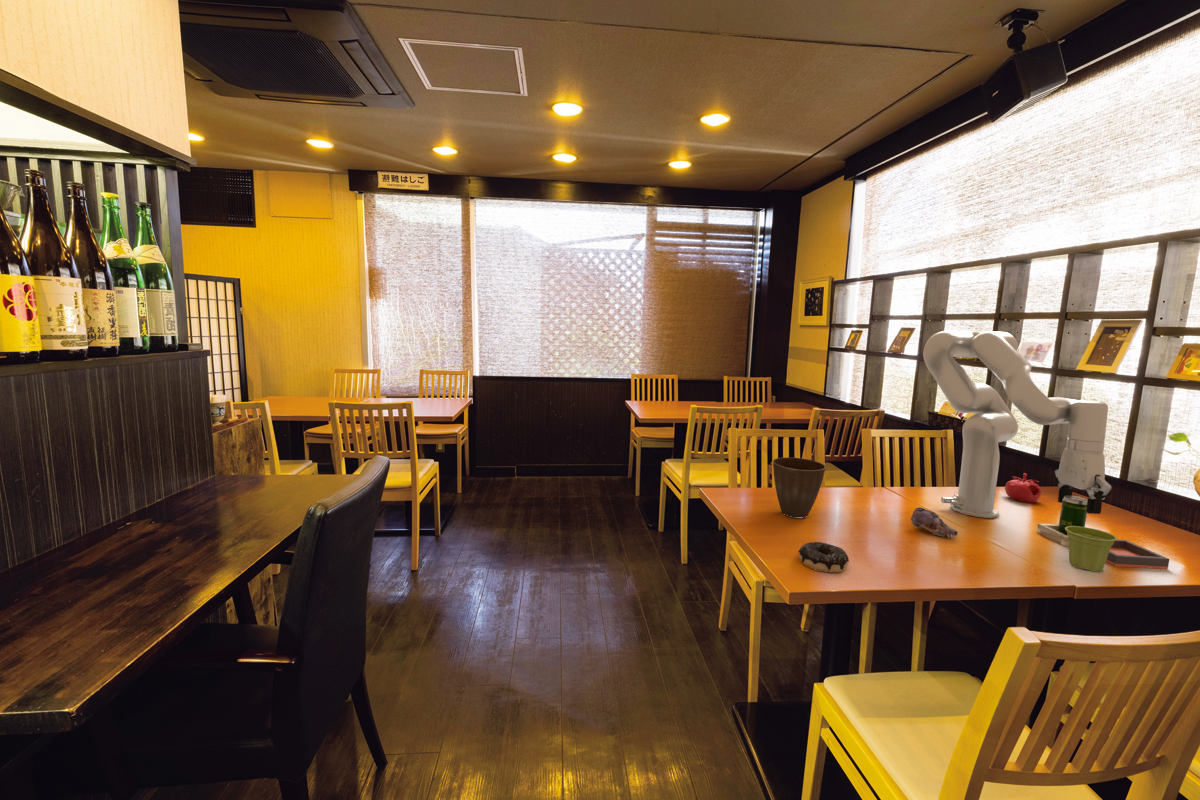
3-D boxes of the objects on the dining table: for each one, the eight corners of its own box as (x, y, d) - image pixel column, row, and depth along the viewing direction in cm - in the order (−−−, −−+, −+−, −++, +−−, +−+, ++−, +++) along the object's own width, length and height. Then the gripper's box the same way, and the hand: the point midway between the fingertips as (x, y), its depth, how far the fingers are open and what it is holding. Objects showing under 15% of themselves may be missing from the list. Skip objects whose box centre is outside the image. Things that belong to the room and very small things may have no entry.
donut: (842, 557, 133) (843, 542, 132) (853, 578, 121) (855, 562, 121) (795, 552, 135) (796, 537, 135) (802, 572, 124) (803, 556, 123)
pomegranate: (1001, 499, 184) (1003, 473, 183) (1007, 494, 191) (1009, 468, 190) (1037, 506, 177) (1040, 479, 176) (1043, 500, 184) (1045, 474, 182)
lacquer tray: (1115, 566, 132) (1116, 556, 131) (1076, 546, 143) (1077, 537, 143) (1167, 569, 131) (1169, 559, 130) (1124, 549, 143) (1125, 539, 142)
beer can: (1084, 540, 148) (1090, 498, 146) (1080, 545, 145) (1086, 502, 143) (1059, 534, 152) (1065, 493, 150) (1054, 538, 149) (1060, 497, 147)
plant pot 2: (1050, 558, 135) (1054, 525, 134) (1084, 558, 136) (1089, 525, 135) (1086, 575, 126) (1092, 540, 125) (1122, 574, 127) (1128, 540, 126)
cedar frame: (1064, 546, 144) (1065, 537, 143) (1036, 531, 154) (1037, 523, 153) (1104, 548, 143) (1106, 539, 142) (1074, 533, 153) (1075, 525, 153)
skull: (962, 539, 147) (965, 518, 146) (942, 542, 144) (945, 521, 143) (923, 524, 158) (925, 504, 157) (903, 527, 155) (905, 506, 154)
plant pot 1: (831, 517, 161) (836, 466, 158) (801, 527, 152) (805, 472, 150) (789, 503, 173) (793, 455, 171) (759, 511, 164) (762, 460, 162)
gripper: (1046, 440, 153) (1040, 498, 155) (1097, 452, 136) (1090, 517, 138) (1074, 440, 153) (1068, 499, 155) (1128, 452, 136) (1121, 518, 137)
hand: (1078, 507), depth 146 cm, fingers open, 9 cm apart
